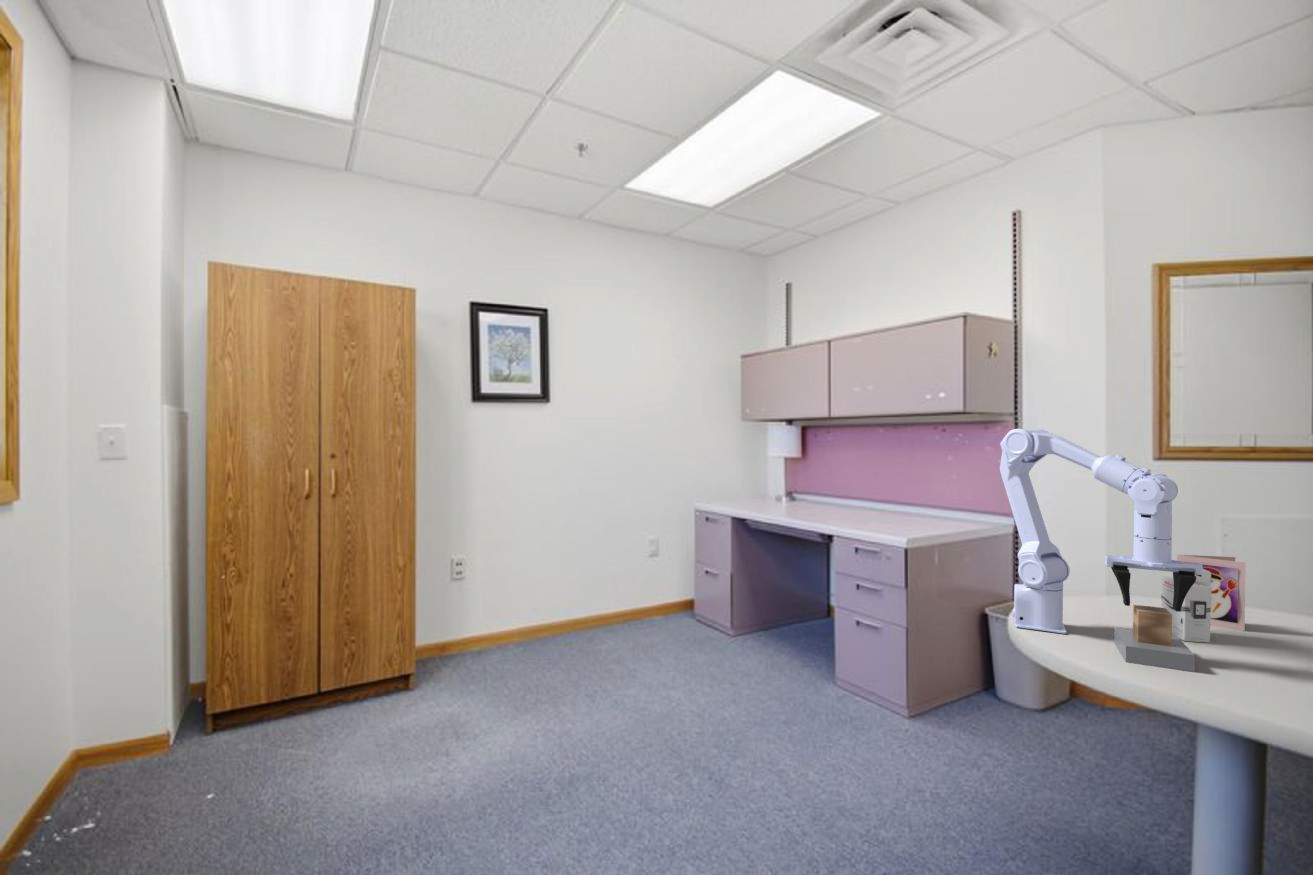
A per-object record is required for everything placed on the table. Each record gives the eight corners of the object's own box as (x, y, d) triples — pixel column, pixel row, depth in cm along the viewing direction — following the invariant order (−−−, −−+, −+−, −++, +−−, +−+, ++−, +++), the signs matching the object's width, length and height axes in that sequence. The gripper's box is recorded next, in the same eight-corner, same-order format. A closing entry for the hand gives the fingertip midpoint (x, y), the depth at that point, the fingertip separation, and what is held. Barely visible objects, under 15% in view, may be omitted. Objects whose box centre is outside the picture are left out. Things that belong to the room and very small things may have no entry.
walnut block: (1138, 642, 117) (1138, 610, 117) (1132, 634, 121) (1133, 604, 121) (1171, 646, 114) (1172, 614, 114) (1165, 638, 119) (1165, 608, 119)
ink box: (1158, 628, 135) (1159, 561, 134) (1184, 630, 134) (1185, 562, 133) (1183, 641, 126) (1184, 570, 126) (1211, 643, 125) (1212, 571, 125)
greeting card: (1175, 619, 141) (1176, 555, 141) (1180, 613, 146) (1181, 551, 146) (1244, 632, 133) (1245, 563, 132) (1247, 624, 138) (1247, 558, 137)
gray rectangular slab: (1125, 661, 115) (1125, 645, 115) (1114, 642, 125) (1114, 628, 125) (1194, 672, 110) (1195, 655, 110) (1176, 651, 120) (1176, 636, 120)
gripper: (1109, 536, 118) (1108, 607, 118) (1208, 544, 111) (1207, 618, 111) (1103, 531, 124) (1102, 598, 124) (1196, 538, 117) (1195, 608, 117)
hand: (1151, 607), depth 118 cm, fingers open, 7 cm apart
